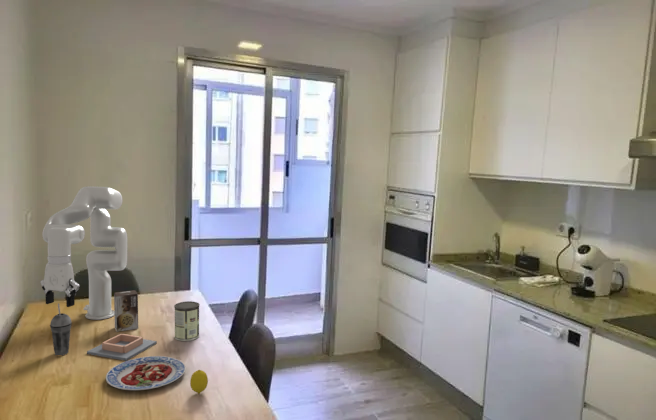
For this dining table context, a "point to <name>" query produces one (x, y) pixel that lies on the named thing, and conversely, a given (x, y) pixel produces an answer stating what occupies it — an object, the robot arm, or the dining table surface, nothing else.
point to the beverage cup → (61, 332)
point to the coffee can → (186, 321)
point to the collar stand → (122, 347)
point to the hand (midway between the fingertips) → (60, 304)
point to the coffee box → (126, 310)
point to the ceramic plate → (145, 373)
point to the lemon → (199, 381)
